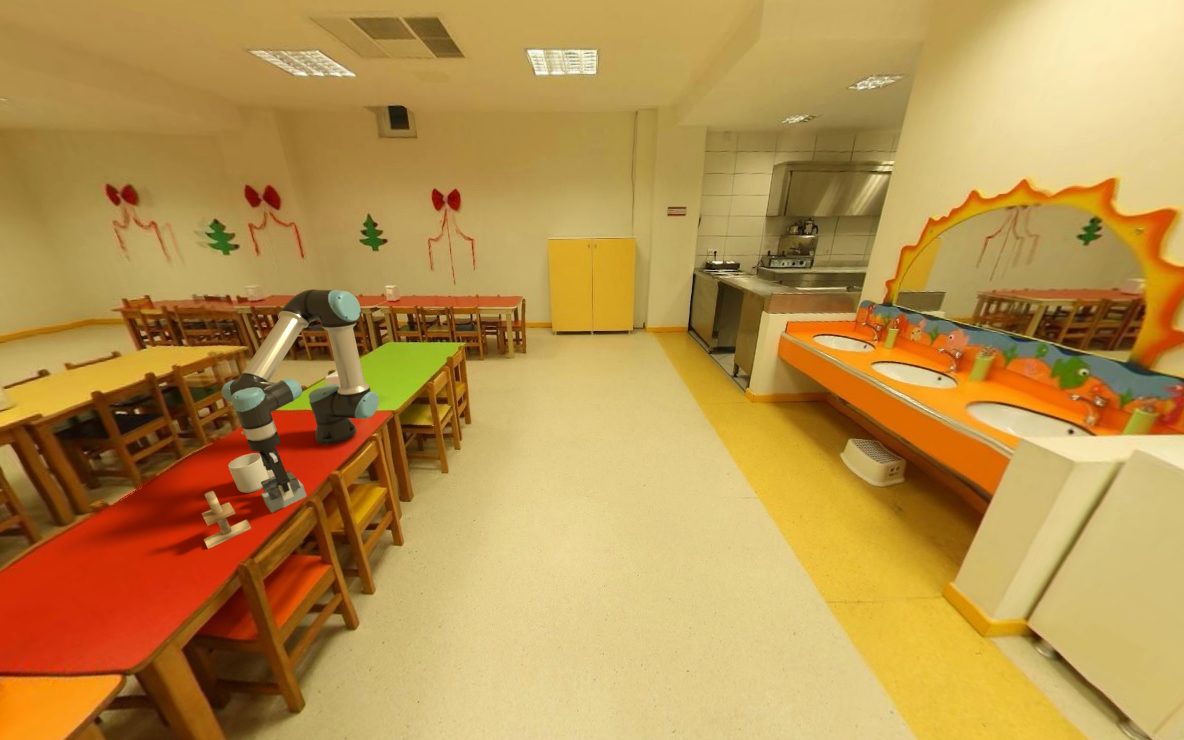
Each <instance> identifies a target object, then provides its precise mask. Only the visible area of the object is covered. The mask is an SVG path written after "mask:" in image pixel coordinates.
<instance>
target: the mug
mask: <svg viewBox="0 0 1184 740" xmlns="http://www.w3.org/2000/svg"><path fill="white" fill-rule="evenodd" d="M228 469H229V472H230V474H231V476H232V479H233V481H234V483H235V485H236V487H237V488H236V489H237V490H238V491H239V492H241V493H245V494H247V493H253V492H254V493H255V492H257V491H260V490H263V487H262V484H261V482H262V481H264V480H267V479H269V475H268V473H267V471H268V470H266V467H264V466H263V462H262V458H261V455H260V454H259V453H258V452H256V453H248V454H245V455H244V454H243V455H241V456H238V457H236V458H234V459H233V460H231V461H230V462H229V463H228Z"/></svg>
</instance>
